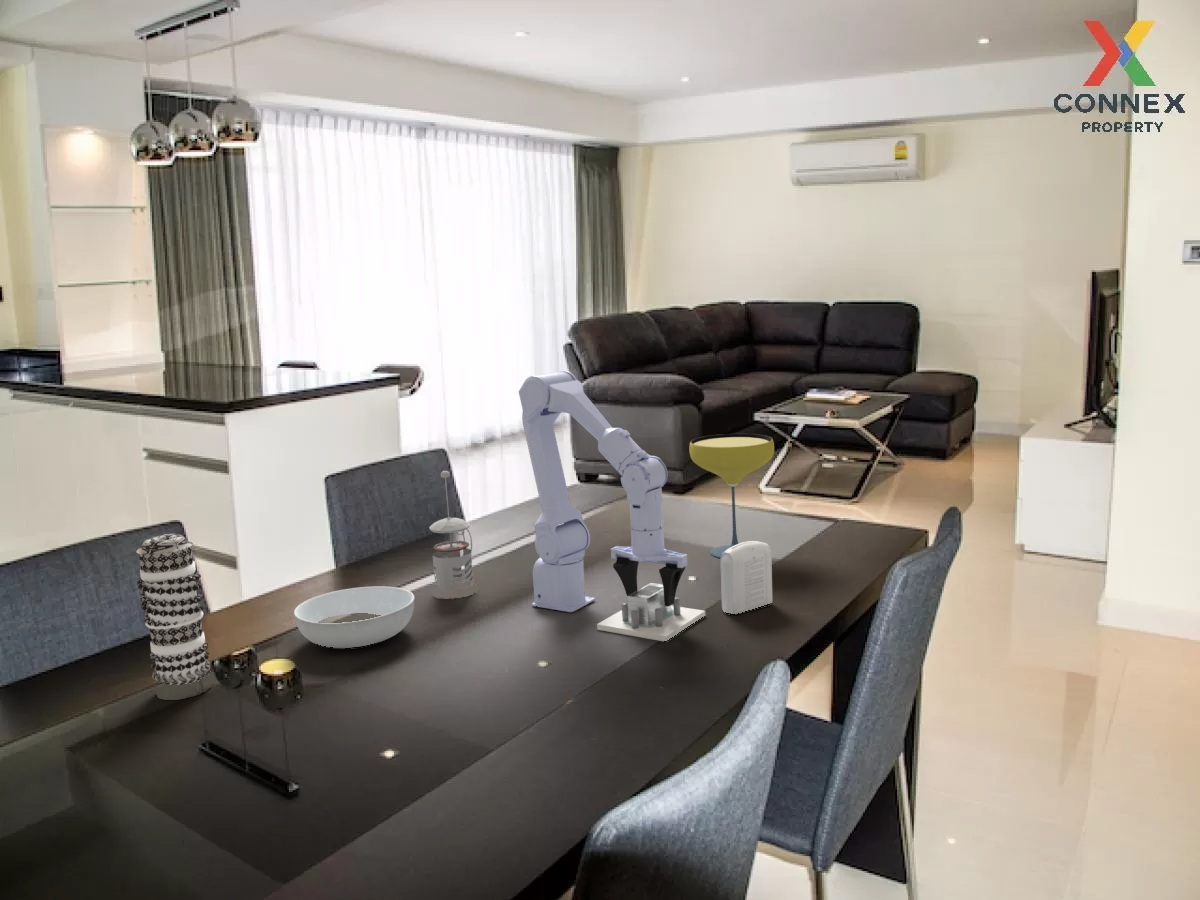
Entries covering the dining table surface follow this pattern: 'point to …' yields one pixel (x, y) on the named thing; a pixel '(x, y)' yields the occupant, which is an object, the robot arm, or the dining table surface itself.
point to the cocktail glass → (731, 462)
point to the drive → (647, 603)
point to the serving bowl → (371, 600)
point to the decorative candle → (173, 610)
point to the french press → (452, 552)
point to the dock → (659, 629)
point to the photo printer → (746, 577)
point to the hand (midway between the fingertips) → (650, 601)
